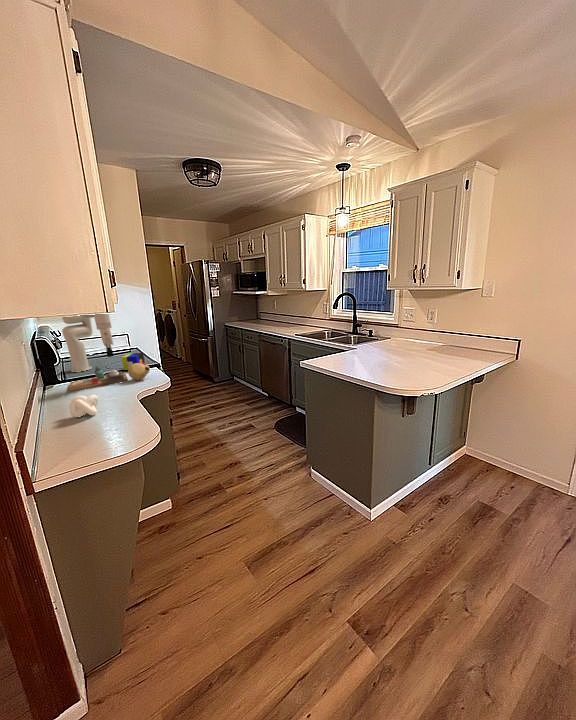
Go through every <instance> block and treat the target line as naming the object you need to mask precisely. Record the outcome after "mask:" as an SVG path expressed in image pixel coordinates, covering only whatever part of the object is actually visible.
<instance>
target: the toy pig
mask: <svg viewBox="0 0 576 720" xmlns="http://www.w3.org/2000/svg"><path fill="white" fill-rule="evenodd" d="M150 370H151V368H150V366H149V365H147V364H145V365H143V364H140V363H135V364H132V365H131V366H130V367H129V370H128V371H127V372H128V376H129V377H130V378H131V380H132V381H135V380H136V381H137V380H139V381H144V378H146V377H147V375H148V374H149V373H150V372H151V371H150Z"/></svg>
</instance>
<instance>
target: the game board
mask: <svg viewBox="0 0 576 720" xmlns="http://www.w3.org/2000/svg"><path fill="white" fill-rule="evenodd" d="M118 372H119V375H117V376H111V377H109V373H106V374H105V373H104V377H105V378H103V379H97V377H96V376H95V377H90V378H85V379H80V380H74V381H70V385H69V390H68V392H69V394H70V393H71V394H72V393H75V392H81V391H84V390H85V389H86V390H91V389H97V388H101V387H107V386H111V385H115V383H117V384H120V382H122V383H125V382H126V381H127V382H129V379H128V376H127V374H126V371H122V370H121V371H118ZM110 384H111V385H110ZM80 390H81V391H80Z"/></svg>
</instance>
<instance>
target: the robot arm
mask: <svg viewBox="0 0 576 720" xmlns="http://www.w3.org/2000/svg"><path fill="white" fill-rule="evenodd" d="M61 317H62V316H61ZM91 318H94V322H95V327H96V330H99V333H100V336H101V341H102V343H103V346H104V347H105V353H106V356H107V358H110V357H111V358H112V357H114V352H113V349H112V346H113V345H114V341H113V335H112V332H111V329H112V323H111V317H110V313H109V314H95V315H80V316H73V317H62V321H63V323H64V324H65V325H66V324H67V326H65V327H63V328H62V330H61V332H62V336H63V337H64V340H65V343H66V346H67V349H68V352H69V357H70V363H71V365H72V369H71V370H70V372H71V373H73V372H77V373H82V372H81V371H84V372H87V371H86V370H88V371H90V370H92V368H93V367H92V365H90V364H89V361H88V358H87V353H86V347H85V344H84V343H83V342H82V341H81V340H79V339H83V338H84V339H85V338H89V337H92V335H93V334H94V333H93V325H92V320H91ZM71 324H72V325H71ZM89 369H90V370H89Z"/></svg>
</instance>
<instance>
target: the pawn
mask: <svg viewBox="0 0 576 720" xmlns="http://www.w3.org/2000/svg"><path fill="white" fill-rule="evenodd" d="M94 374H95V377H97V379H103V378H105V377H104V376H105V373H104V371H103V369H102V367H101V366H96V367H95V368H94Z"/></svg>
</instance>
